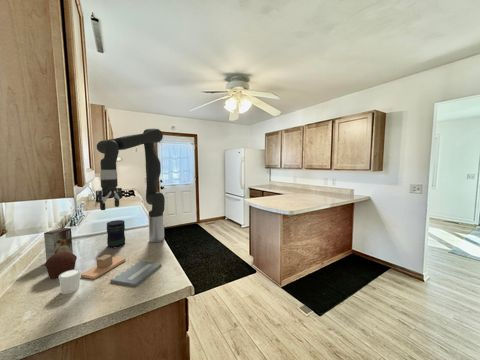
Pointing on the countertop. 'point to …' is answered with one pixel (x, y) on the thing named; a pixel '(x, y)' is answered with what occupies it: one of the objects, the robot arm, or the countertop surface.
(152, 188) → the robot arm
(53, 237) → the coffee box
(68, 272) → the shot glass
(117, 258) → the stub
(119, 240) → the storage jar
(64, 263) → the muffin
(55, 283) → the countertop surface
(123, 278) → the board
